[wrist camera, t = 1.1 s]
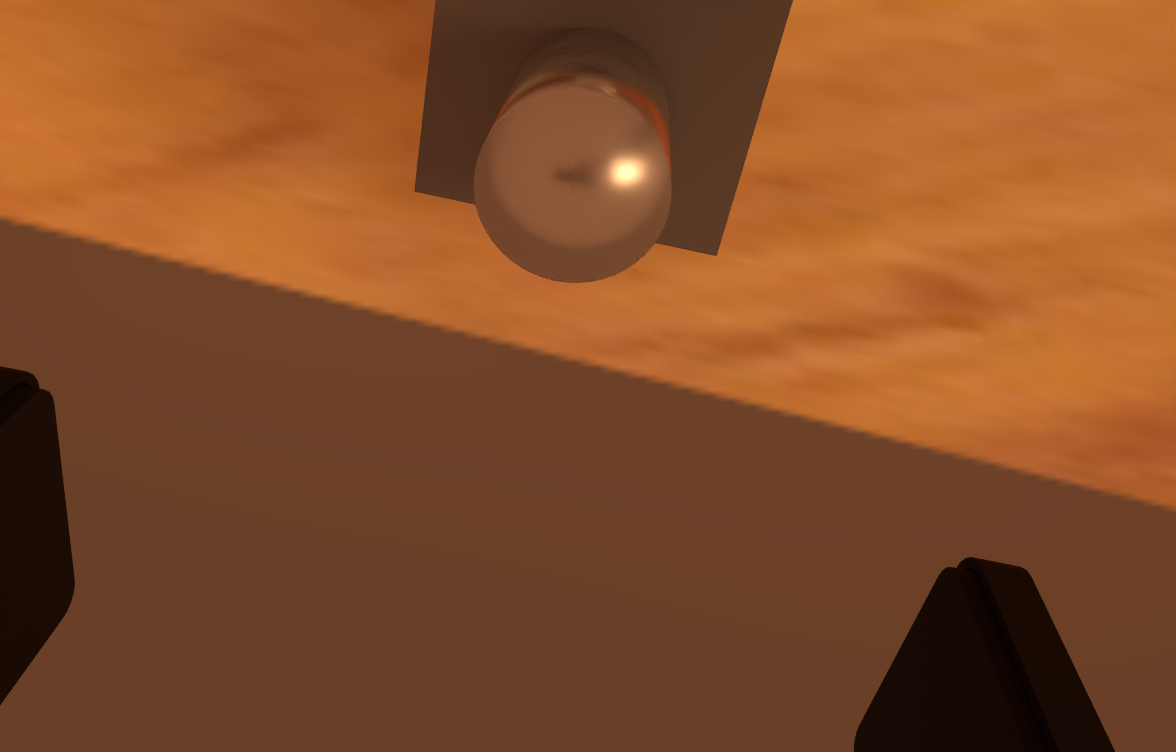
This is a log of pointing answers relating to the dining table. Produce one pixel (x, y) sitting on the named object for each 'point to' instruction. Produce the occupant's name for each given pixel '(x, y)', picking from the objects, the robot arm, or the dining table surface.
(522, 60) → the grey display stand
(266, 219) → the dining table surface
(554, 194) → the cylinder
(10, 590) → the robot arm
